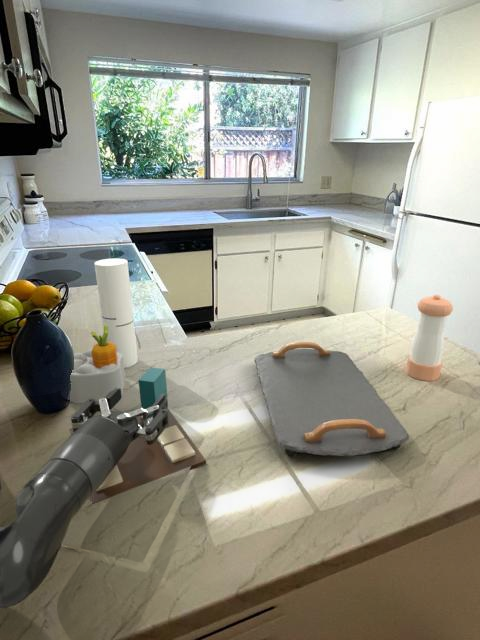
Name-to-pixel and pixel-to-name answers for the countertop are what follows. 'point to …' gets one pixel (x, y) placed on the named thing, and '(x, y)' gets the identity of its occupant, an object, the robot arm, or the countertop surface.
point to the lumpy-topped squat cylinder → (94, 378)
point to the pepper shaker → (429, 339)
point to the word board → (150, 460)
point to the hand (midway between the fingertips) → (141, 395)
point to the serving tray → (324, 403)
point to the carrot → (103, 350)
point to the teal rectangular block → (152, 387)
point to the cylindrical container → (117, 306)
